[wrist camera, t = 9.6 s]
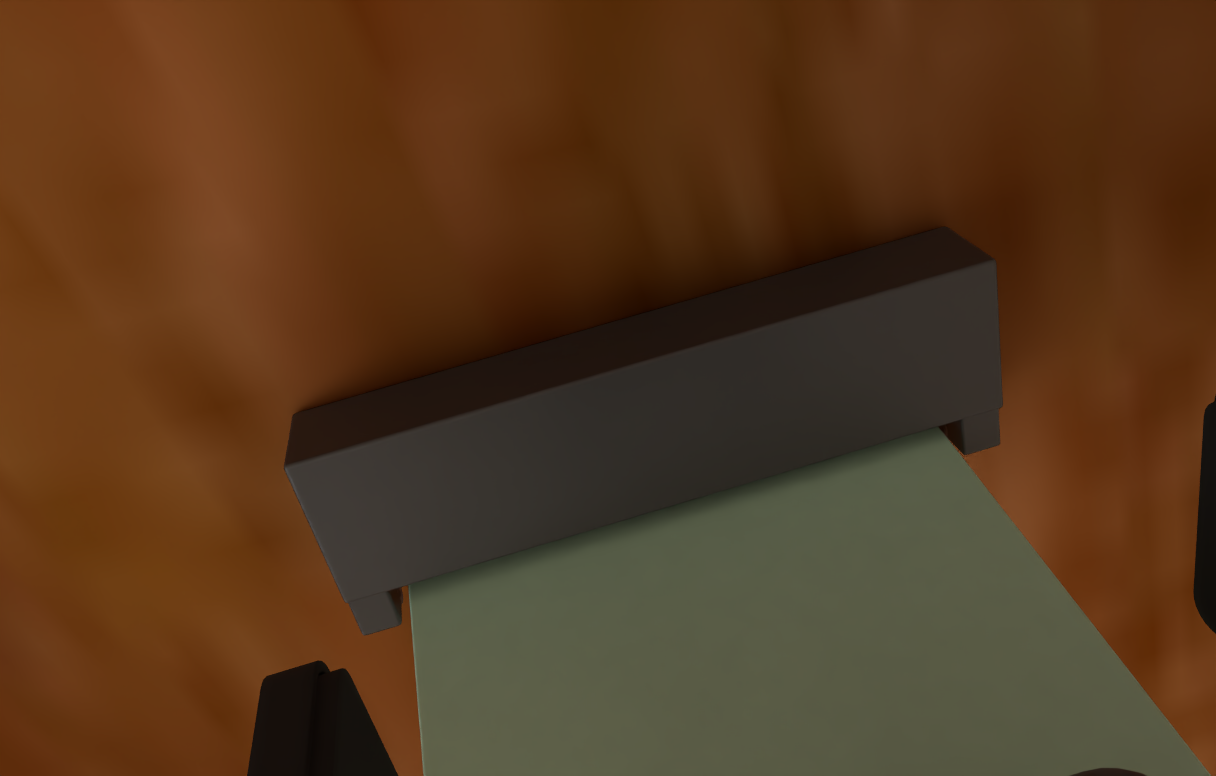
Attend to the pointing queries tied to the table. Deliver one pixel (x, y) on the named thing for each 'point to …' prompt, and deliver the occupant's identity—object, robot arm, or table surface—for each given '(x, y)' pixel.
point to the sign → (784, 642)
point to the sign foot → (648, 414)
